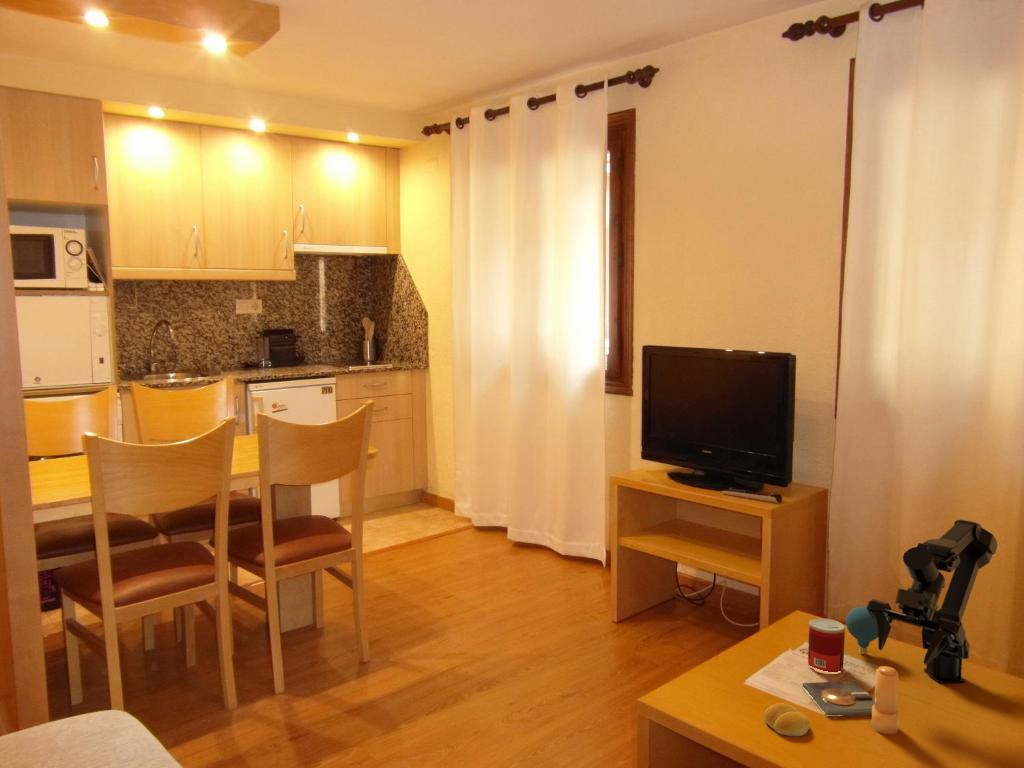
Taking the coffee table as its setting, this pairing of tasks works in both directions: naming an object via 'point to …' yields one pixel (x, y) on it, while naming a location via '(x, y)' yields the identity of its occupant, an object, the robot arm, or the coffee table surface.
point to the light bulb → (862, 627)
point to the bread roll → (786, 720)
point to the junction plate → (840, 698)
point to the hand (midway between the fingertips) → (901, 656)
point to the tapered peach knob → (885, 701)
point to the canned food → (826, 644)
